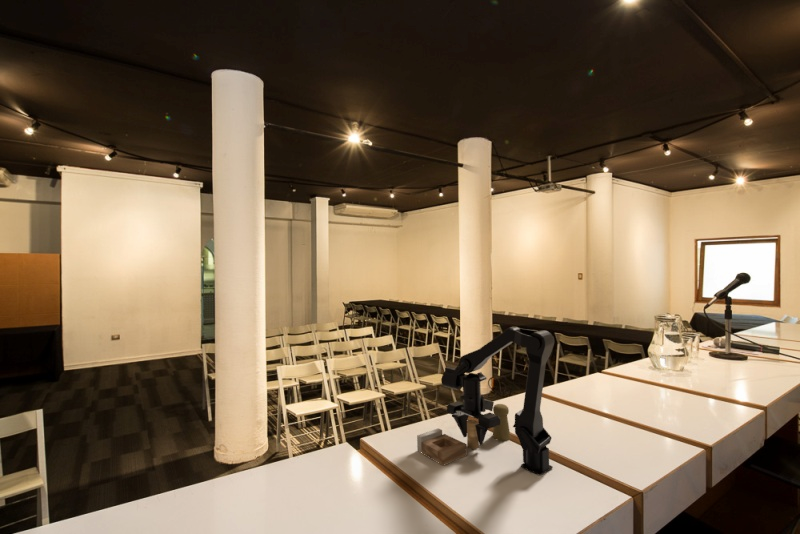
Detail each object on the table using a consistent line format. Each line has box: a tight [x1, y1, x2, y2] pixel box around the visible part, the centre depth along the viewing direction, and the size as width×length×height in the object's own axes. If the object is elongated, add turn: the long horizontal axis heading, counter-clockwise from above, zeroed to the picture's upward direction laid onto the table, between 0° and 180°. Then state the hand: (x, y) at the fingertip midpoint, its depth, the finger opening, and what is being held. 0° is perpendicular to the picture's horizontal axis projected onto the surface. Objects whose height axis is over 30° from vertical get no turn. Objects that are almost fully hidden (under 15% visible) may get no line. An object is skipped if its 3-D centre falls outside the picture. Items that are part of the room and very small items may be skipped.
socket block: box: [421, 433, 468, 466], centre depth 123 cm, size 10×10×4 cm
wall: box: [416, 427, 443, 453], centre depth 127 cm, size 2×9×5 cm, turn 126°
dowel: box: [466, 419, 480, 450], centre depth 128 cm, size 4×4×8 cm
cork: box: [492, 403, 512, 442], centre depth 134 cm, size 6×6×11 cm
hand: (472, 440), depth 127 cm, fingers open, 7 cm apart
